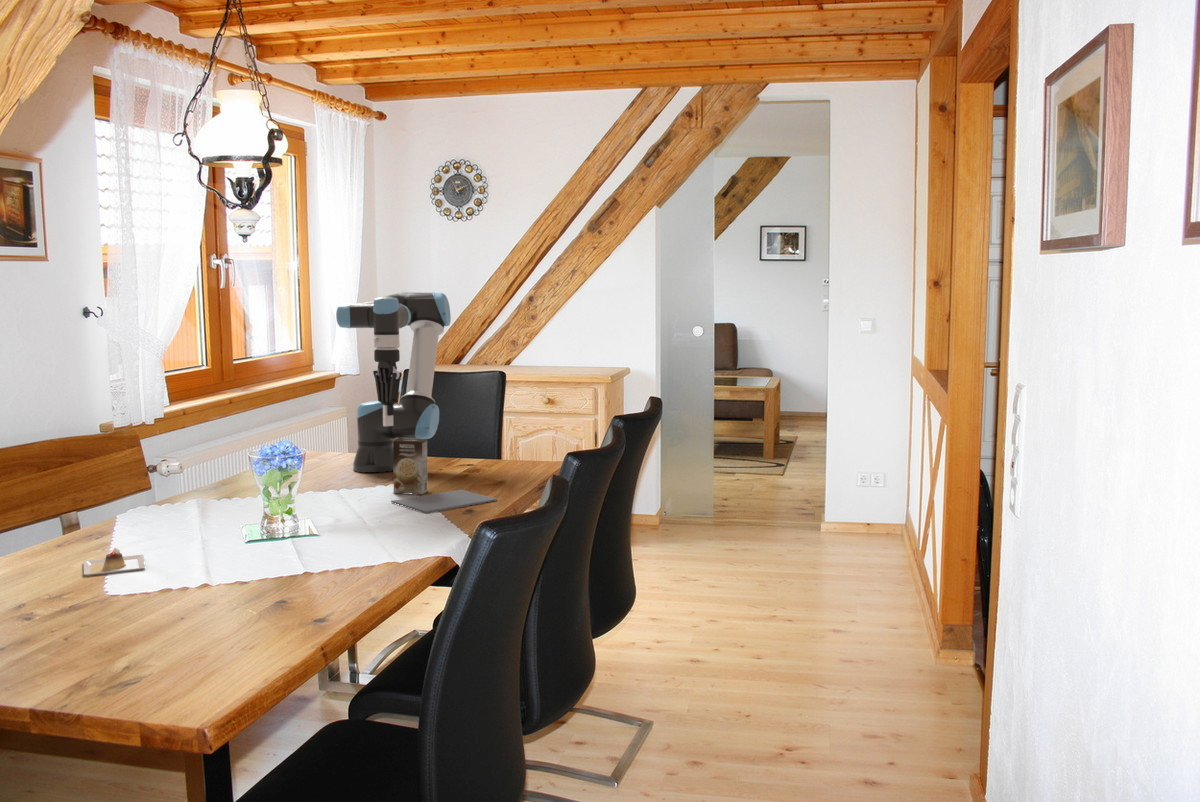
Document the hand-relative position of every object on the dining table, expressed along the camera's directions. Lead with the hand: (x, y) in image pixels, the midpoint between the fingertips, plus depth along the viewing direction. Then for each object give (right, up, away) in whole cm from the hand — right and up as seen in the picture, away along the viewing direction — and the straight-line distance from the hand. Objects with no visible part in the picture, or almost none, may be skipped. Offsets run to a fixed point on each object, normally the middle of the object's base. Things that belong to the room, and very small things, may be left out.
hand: (388, 425), depth 303 cm
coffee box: (+8, -20, -6) cm, 22 cm away
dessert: (-41, -29, -86) cm, 100 cm away
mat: (+20, -21, -19) cm, 35 cm away
